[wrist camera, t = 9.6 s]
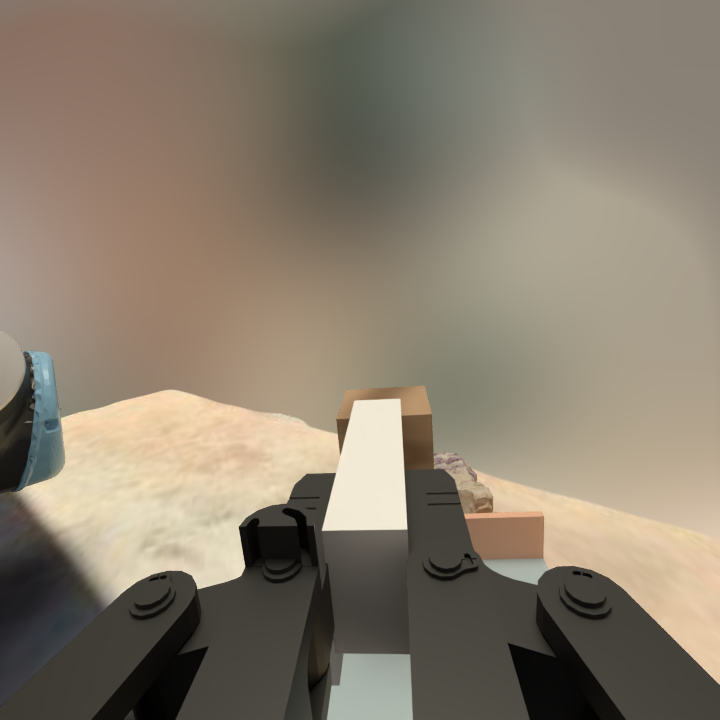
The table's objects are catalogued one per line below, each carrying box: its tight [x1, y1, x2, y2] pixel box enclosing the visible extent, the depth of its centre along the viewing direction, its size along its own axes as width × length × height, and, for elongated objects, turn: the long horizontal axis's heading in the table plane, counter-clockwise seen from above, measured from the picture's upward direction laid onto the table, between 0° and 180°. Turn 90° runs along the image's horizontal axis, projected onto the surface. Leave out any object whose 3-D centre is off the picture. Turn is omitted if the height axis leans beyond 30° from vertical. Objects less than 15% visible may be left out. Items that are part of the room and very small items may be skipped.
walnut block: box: [337, 386, 434, 470], centre depth 31 cm, size 6×6×16 cm
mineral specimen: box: [434, 452, 493, 514], centre depth 45 cm, size 13×7×6 cm, turn 31°
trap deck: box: [327, 511, 549, 720], centre depth 28 cm, size 24×18×6 cm
